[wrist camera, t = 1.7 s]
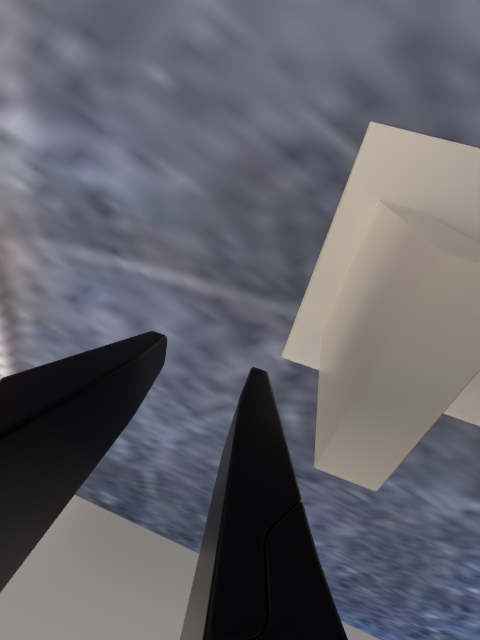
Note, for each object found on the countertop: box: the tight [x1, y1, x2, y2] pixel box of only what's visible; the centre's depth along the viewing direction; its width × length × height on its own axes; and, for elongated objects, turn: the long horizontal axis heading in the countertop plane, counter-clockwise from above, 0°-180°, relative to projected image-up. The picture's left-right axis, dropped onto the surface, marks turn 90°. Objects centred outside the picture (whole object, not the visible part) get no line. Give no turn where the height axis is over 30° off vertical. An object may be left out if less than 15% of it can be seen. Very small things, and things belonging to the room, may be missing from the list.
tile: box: [314, 200, 480, 492], centre depth 13 cm, size 2×8×10 cm, turn 166°
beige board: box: [282, 122, 480, 426], centre depth 16 cm, size 18×14×1 cm
